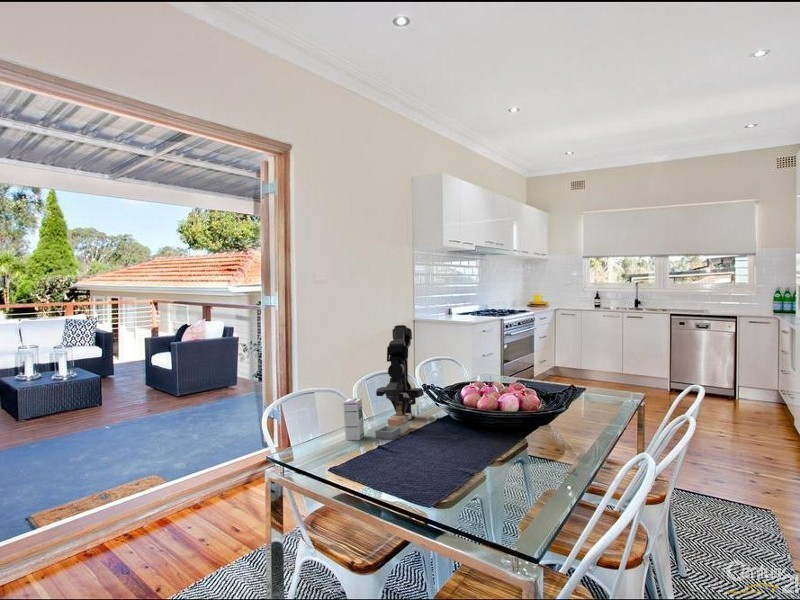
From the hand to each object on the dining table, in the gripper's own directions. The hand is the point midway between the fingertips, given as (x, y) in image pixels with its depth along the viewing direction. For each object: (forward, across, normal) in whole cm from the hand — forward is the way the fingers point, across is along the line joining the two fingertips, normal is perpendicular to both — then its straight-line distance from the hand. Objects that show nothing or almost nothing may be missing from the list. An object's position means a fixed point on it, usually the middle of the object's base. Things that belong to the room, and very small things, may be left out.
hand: (400, 413), depth 189 cm
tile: (+3, 0, -5) cm, 6 cm away
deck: (+6, 0, -4) cm, 7 cm away
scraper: (+2, 0, 0) cm, 2 cm away
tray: (+6, 0, -11) cm, 12 cm away
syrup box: (+6, -12, -16) cm, 21 cm away
